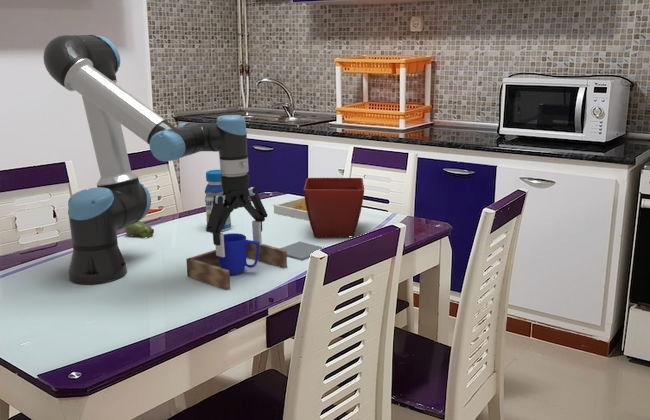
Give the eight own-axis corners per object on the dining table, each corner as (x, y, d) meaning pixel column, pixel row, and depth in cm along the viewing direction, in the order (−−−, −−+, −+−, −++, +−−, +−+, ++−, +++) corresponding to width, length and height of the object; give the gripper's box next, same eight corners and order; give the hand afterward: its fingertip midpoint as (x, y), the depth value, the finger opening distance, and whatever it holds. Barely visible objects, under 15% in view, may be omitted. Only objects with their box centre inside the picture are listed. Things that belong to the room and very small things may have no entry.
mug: (255, 278, 178) (254, 243, 175) (213, 276, 180) (211, 241, 177) (264, 268, 185) (263, 234, 183) (224, 266, 188) (222, 232, 185)
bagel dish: (274, 213, 244) (273, 205, 244) (304, 204, 257) (304, 196, 256) (310, 221, 233) (309, 212, 232) (340, 211, 245) (340, 203, 245)
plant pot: (362, 224, 228) (362, 176, 223) (364, 241, 209) (364, 189, 205) (307, 224, 228) (306, 177, 224) (304, 241, 210) (303, 189, 206)
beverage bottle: (235, 229, 224) (233, 171, 219) (213, 233, 219) (209, 174, 214) (224, 224, 231) (221, 167, 226) (202, 228, 226) (199, 170, 221)
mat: (272, 252, 199) (272, 250, 199) (299, 243, 208) (299, 241, 208) (301, 260, 191) (301, 258, 191) (328, 250, 200) (328, 248, 200)
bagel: (289, 210, 249) (289, 197, 248) (318, 208, 250) (318, 196, 249) (291, 216, 240) (291, 204, 238) (321, 215, 241) (321, 202, 240)
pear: (132, 216, 221) (157, 223, 218) (131, 231, 223) (156, 238, 220) (121, 220, 216) (147, 227, 213) (121, 235, 217) (146, 243, 215)
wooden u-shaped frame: (187, 276, 180) (186, 258, 179) (247, 255, 196) (247, 239, 195) (226, 289, 170) (225, 271, 168) (287, 267, 186) (286, 250, 185)
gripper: (207, 183, 164) (213, 264, 169) (277, 167, 182) (281, 241, 188) (188, 180, 169) (194, 258, 174) (258, 165, 187) (262, 236, 192)
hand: (239, 249), depth 181 cm, fingers open, 13 cm apart
